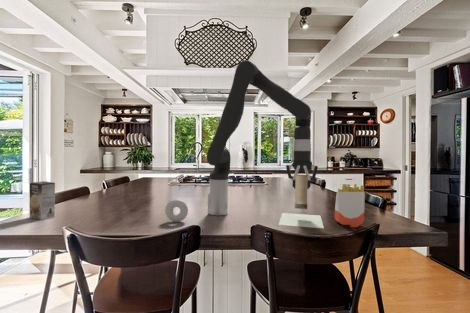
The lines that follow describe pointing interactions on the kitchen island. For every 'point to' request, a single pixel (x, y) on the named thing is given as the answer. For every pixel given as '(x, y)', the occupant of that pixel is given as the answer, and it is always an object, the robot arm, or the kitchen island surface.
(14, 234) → the kitchen island surface
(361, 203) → the french fries container
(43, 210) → the coffee box
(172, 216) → the donut
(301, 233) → the kitchen island surface
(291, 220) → the sage mat
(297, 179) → the maple block
